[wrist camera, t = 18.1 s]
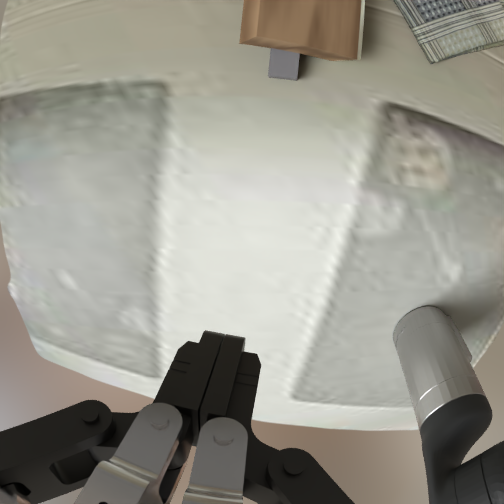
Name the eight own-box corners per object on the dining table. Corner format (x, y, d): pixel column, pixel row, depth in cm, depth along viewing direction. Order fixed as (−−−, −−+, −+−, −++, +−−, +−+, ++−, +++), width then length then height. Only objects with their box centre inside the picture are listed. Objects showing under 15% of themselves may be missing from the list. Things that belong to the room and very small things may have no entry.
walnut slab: (246, -25, 22) (340, 0, 26) (239, 43, 26) (335, 61, 29) (264, -39, 18) (365, -7, 22) (256, 36, 22) (360, 60, 26)
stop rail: (306, -26, 25) (306, -33, 23) (296, 80, 31) (297, 79, 29) (279, -29, 25) (278, -35, 23) (269, 77, 31) (268, 75, 29)
